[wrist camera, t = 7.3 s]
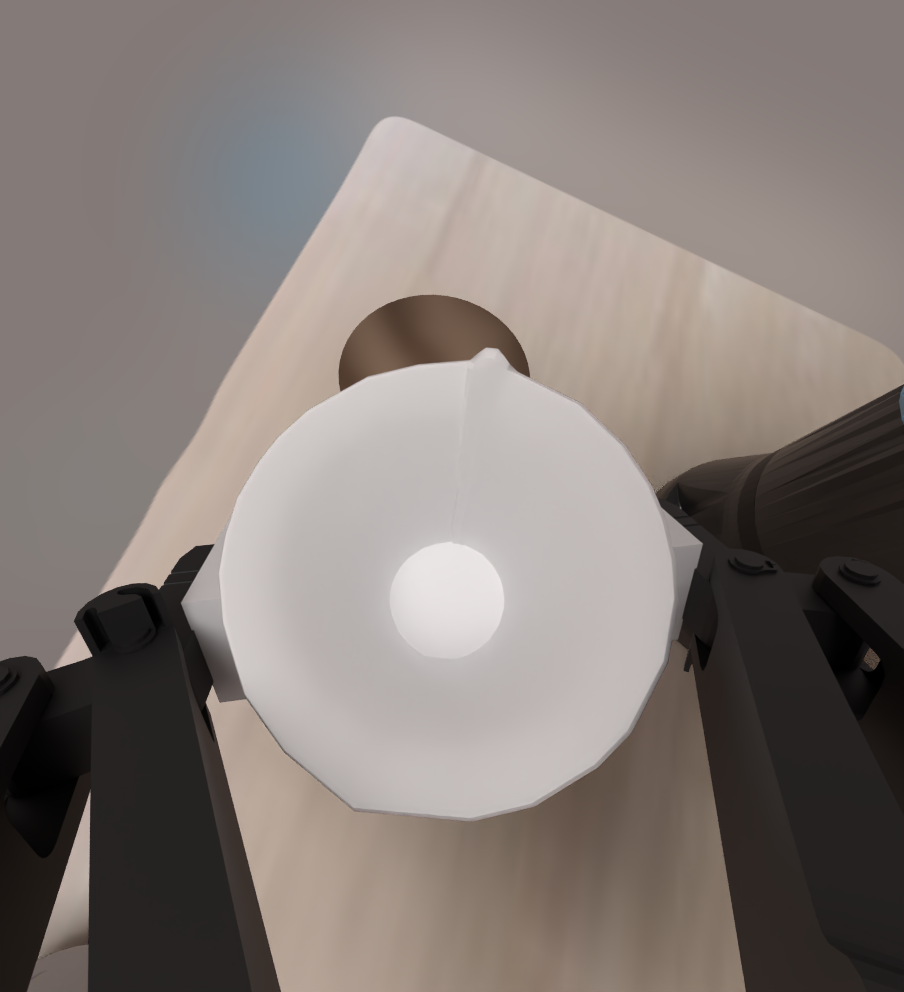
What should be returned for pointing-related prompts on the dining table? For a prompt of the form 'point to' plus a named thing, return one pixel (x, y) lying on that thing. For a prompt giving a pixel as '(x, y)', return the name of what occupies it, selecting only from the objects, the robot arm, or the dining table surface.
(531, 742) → the cup
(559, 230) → the dining table surface
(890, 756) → the robot arm
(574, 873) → the dining table surface
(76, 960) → the teacup
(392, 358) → the walnut stand
